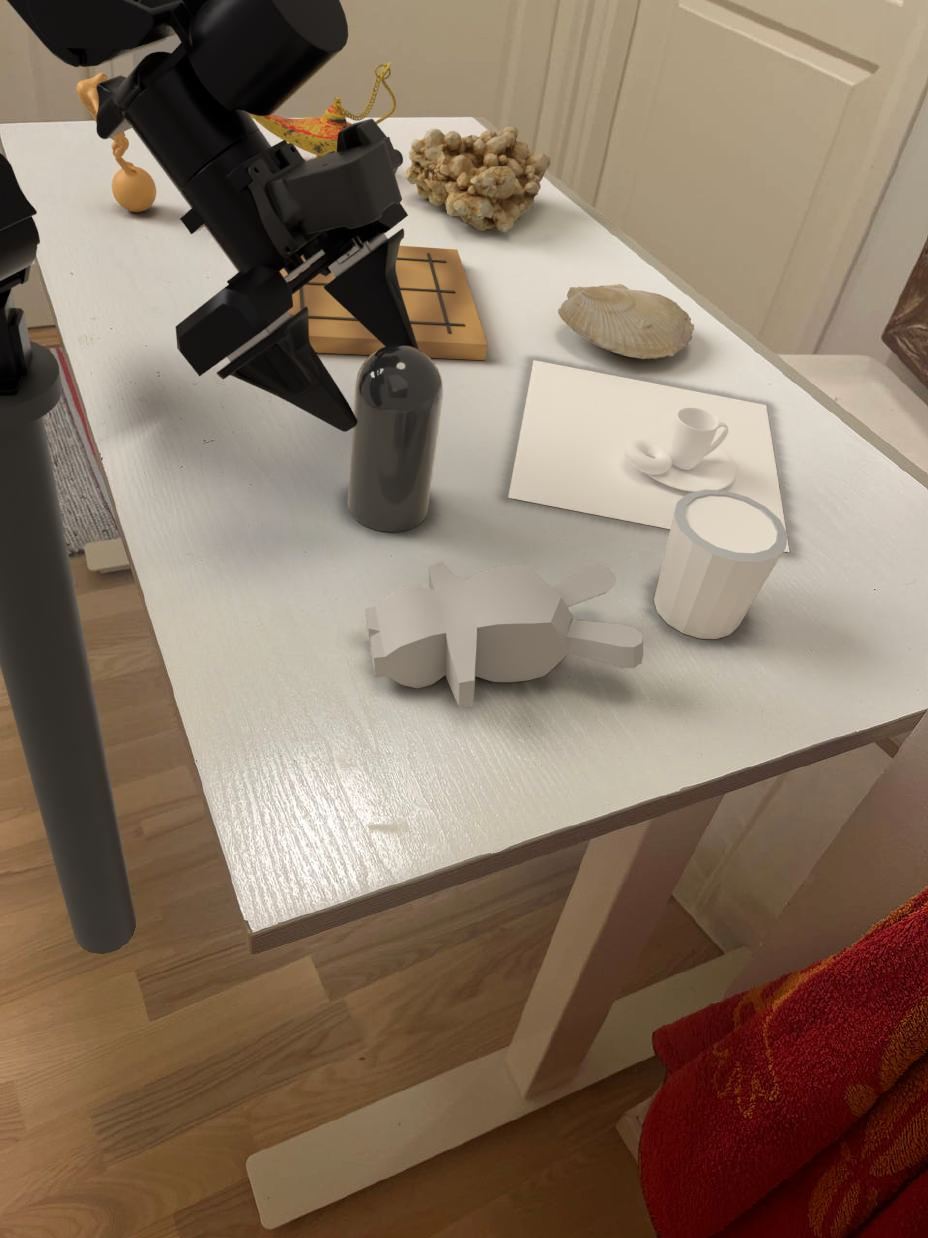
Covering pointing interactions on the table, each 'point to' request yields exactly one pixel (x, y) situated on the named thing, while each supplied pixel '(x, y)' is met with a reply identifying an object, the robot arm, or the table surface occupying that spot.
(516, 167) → the mineral formation
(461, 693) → the bunny figurine
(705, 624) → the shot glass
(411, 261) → the board
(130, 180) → the figurine
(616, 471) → the teacup and saucer
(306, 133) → the magic lamp
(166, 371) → the table surface
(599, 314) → the seashell
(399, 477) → the dark domed cylinder
